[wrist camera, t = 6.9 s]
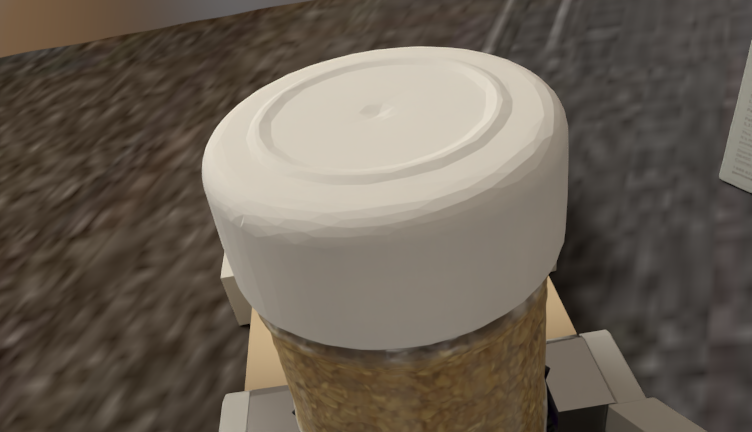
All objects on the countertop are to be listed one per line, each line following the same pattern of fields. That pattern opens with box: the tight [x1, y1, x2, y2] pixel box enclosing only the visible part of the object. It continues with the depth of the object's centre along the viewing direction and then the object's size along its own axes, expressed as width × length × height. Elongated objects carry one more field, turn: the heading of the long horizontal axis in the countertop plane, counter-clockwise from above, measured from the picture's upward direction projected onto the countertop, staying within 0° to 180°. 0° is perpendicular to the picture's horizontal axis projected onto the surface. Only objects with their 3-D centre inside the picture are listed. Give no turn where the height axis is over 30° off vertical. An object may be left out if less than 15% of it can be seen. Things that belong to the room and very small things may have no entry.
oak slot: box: [245, 275, 577, 391], centre depth 18 cm, size 14×10×2 cm
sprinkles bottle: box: [202, 47, 568, 432], centre depth 12 cm, size 5×5×14 cm
